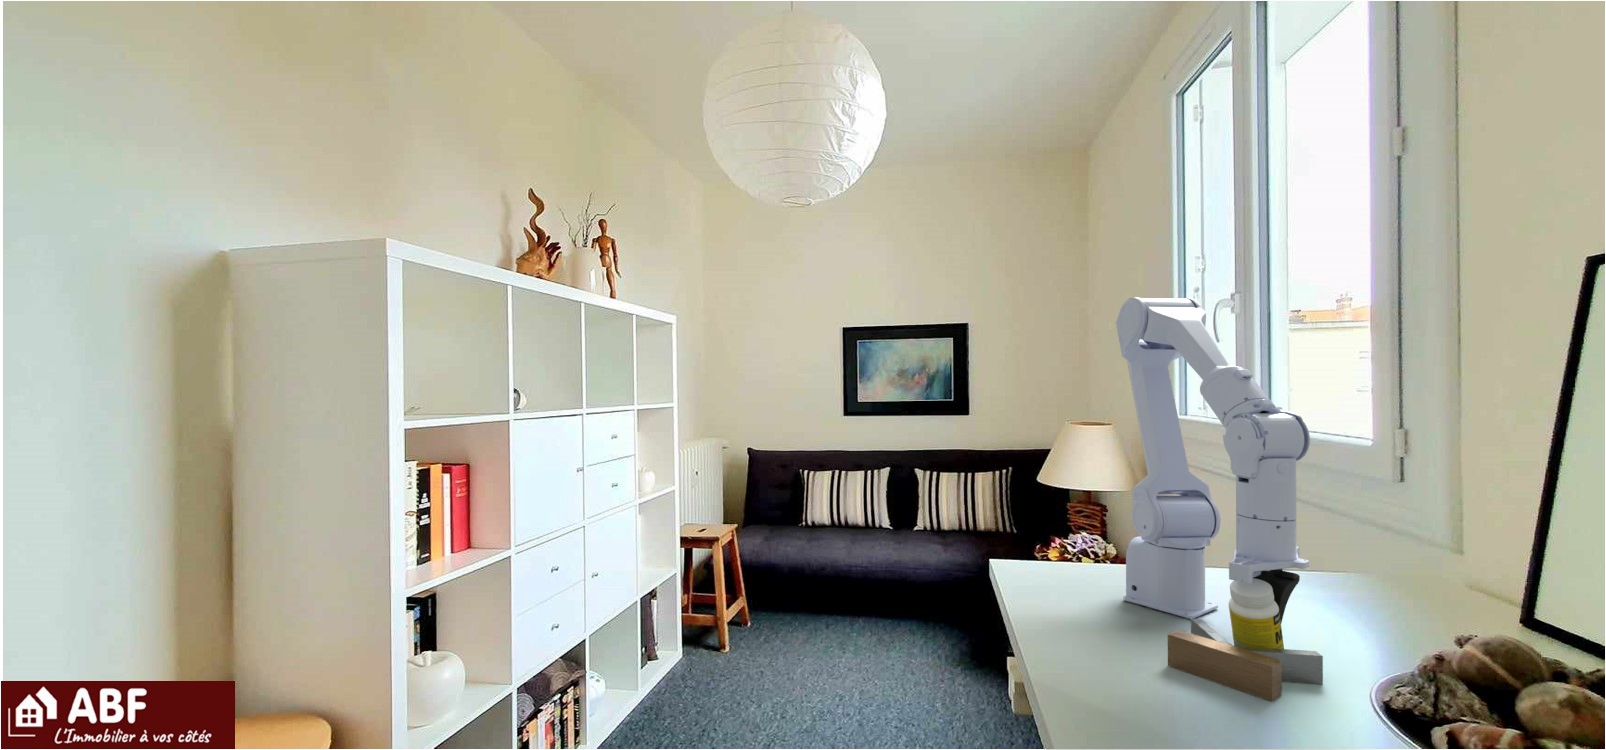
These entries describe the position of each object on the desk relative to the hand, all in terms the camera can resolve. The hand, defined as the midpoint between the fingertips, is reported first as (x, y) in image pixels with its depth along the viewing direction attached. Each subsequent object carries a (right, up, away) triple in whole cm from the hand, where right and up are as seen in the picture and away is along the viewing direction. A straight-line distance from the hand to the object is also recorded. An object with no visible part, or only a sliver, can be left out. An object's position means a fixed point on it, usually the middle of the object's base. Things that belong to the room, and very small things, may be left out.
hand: (1266, 633), depth 76 cm
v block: (-6, -2, -4) cm, 8 cm away
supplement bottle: (-2, -2, -1) cm, 3 cm away
